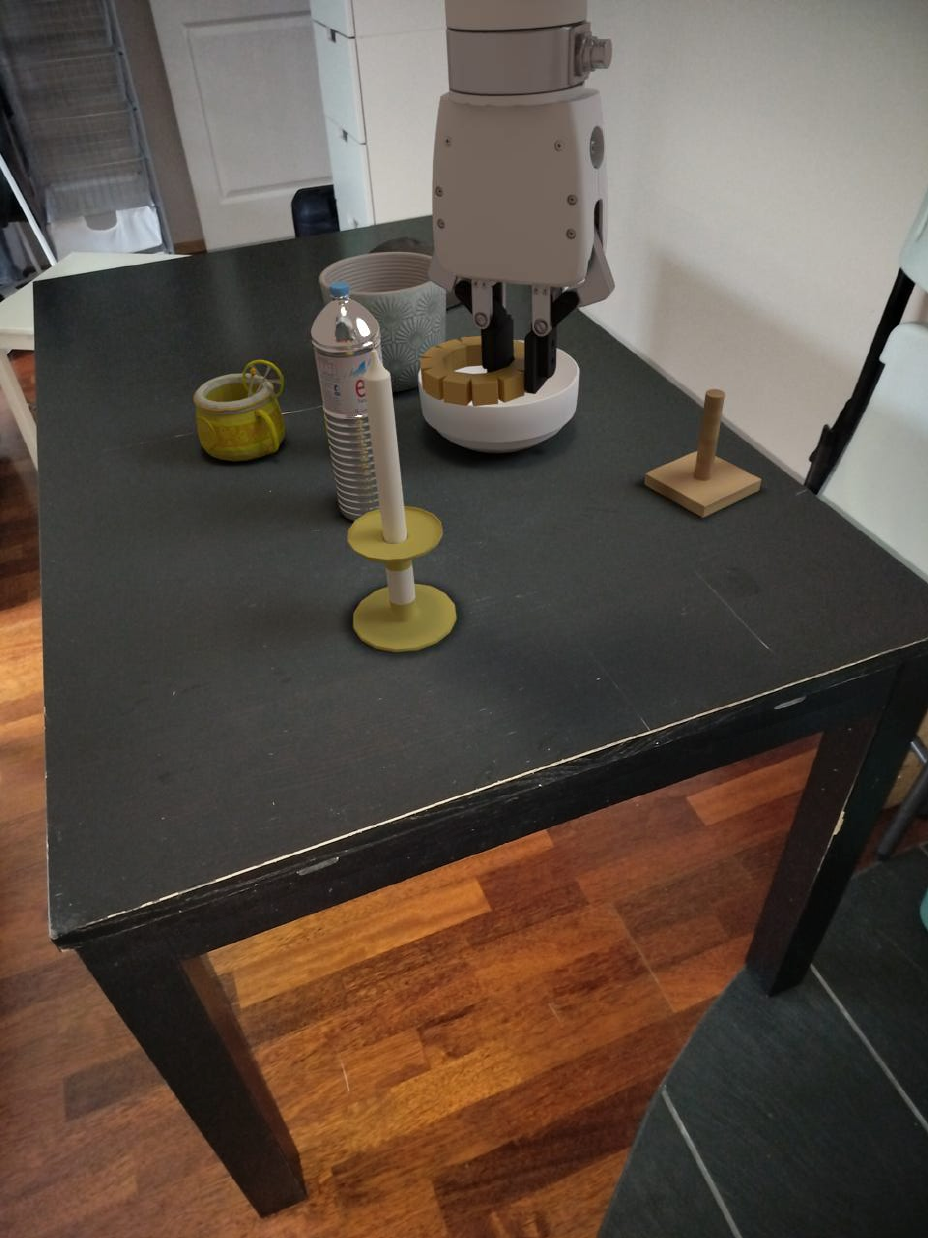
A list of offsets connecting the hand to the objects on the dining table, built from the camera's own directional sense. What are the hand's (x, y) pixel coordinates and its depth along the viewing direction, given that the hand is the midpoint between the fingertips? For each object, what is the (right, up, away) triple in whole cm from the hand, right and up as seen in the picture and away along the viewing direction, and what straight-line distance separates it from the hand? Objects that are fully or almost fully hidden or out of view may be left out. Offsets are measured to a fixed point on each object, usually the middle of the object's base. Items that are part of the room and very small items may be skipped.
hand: (519, 380), depth 58 cm
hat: (-14, +42, +94) cm, 104 cm away
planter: (-14, +18, +65) cm, 69 cm away
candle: (-9, -16, +24) cm, 30 cm away
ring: (-3, 0, +1) cm, 3 cm away
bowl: (+1, +7, +51) cm, 52 cm away
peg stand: (+23, -1, +39) cm, 45 cm away
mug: (-31, +5, +51) cm, 60 cm away
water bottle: (-14, -4, +39) cm, 42 cm away
